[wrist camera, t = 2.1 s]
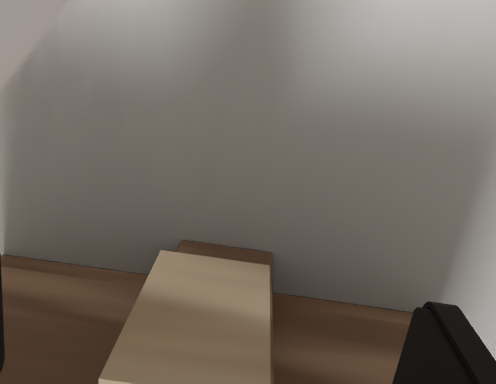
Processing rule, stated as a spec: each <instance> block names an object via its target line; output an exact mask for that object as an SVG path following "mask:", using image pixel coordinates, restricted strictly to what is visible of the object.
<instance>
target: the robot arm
mask: <svg viewBox="0 0 496 384" xmlns="http://www.w3.org/2000/svg"><path fill="white" fill-rule="evenodd" d="M4 360H5V347H4V323H3V300H2V276H1V255H0V373H1V370H2V368H3V365H4ZM392 384H496V361H495V359H494V358H493V356H492V355H491V353H490V352H489V351H488V349H487V348H486V346H485V345H484V343H483V342H482V340H481V339H480V337H479V336H478V335H477V333H476V332H475V330H474V329H473V327H472V326H471V324H470V323H469V321H468V320H467V319H466V317H465V316H464V314H463V313H462V311H461V310H460V308H459V307H458V306H455V305H449V304H442V303H435V302H426V303H425V304H424V306H423V308H419V307H417V308H416V309H415V310H414V312H413V315H412V318H411V322H410V325H409V329H408V332H407V335H406V339H405V342H404V345H403V349H402V352H401V355H400V359H399V362H398V365H397V369H396V372H395V375H394V379H393V382H392Z"/></svg>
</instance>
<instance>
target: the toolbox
mask: <svg viewBox="0 0 496 384" xmlns="http://www.w3.org/2000/svg"><path fill="white" fill-rule="evenodd" d="M177 252H179V253H186V254H193V255H200V256H207V257H214V258H221V259H228V260H235V261H242V262H249V263H256V264H263V265H270V369H271V384H392V382H393V379H394V375H395V372H396V369H397V365H398V362H399V359H400V355H401V352H402V349H403V345H404V342H405V339H406V335H407V332H408V329H409V325H410V322H411V318H412V315H413V313H411V312H404V311H397V310H390V309H383V308H376V307H369V306H362V305H355V304H348V303H341V302H334V301H327V300H319V299H312V298H305V297H298V296H291V295H284V294H277V293H272V260H271V253H270V252H263V251H256V250H249V249H242V248H235V247H228V246H221V245H214V244H207V243H200V242H193V241H186V240H182V241H181V243H180V245H179V248H178V250H177ZM1 276H2V300H3V323H4V347H5V360H4V365H3V368H2V370H1V373H0V384H98V383H99V377H100V375H101V373H102V371H103V369H104V367H105V364H106V362H107V360H108V358H109V356H110V354H111V352H112V350H113V348H114V346H115V344H116V342H117V340H118V338H119V335H120V333H121V331H122V329H123V327H124V325H125V323H126V321H127V319H128V317H129V315H130V313H131V311H132V308H133V306H134V304H135V302H136V300H137V298H138V296H139V294H140V292H141V290H142V288H143V286H144V284H145V282H146V279H147V277H148V275H143V274H136V273H129V272H122V271H115V270H108V269H101V268H93V267H86V266H79V265H72V264H65V263H58V262H51V261H44V260H37V259H30V258H23V257H16V256H9V255H2V256H1Z"/></svg>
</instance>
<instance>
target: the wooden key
mask: <svg viewBox="0 0 496 384" xmlns="http://www.w3.org/2000/svg"><path fill="white" fill-rule="evenodd" d="M98 384H271V369H270V265H263V264H256V263H249V262H242V261H235V260H228V259H221V258H214V257H207V256H200V255H193V254H186V253H179V252H172V251H165V250H160V252H159V255H158V257H157V259H156V261H155V263H154V265H153V267H152V269H151V271H150V273H149V275H148V277H147V279H146V282H145V284H144V286H143V288H142V290H141V292H140V294H139V296H138V298H137V300H136V302H135V304H134V306H133V308H132V311H131V313H130V315H129V317H128V319H127V321H126V323H125V325H124V327H123V329H122V331H121V333H120V335H119V338H118V340H117V342H116V344H115V346H114V348H113V350H112V352H111V354H110V356H109V358H108V360H107V362H106V364H105V367H104V369H103V371H102V373H101V375H100V377H99V383H98Z"/></svg>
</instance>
